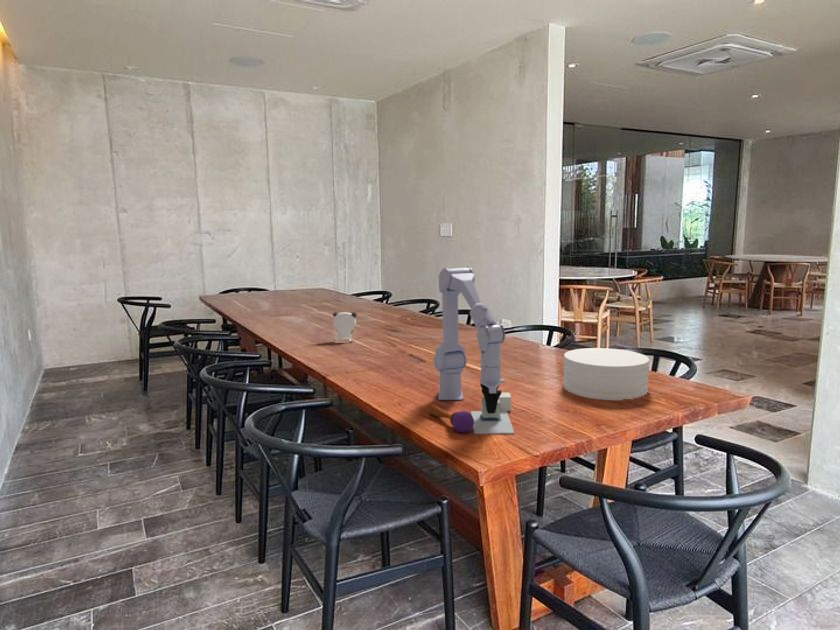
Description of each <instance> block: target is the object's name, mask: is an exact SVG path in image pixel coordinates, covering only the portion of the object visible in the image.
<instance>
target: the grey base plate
mask: <svg viewBox="0 0 840 630" xmlns="http://www.w3.org/2000/svg"><path fill="white" fill-rule="evenodd" d="M470 414H471V415H472V417H473V419H474V425H473V428H472V429H473V434H474V435H514V434H515V430H514V427H513V425H512V422H511V419H510V417H509V413H508V411H500V418H483V416H482V410H478V411H477V410H472V411H470Z"/></svg>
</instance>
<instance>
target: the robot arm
mask: <svg viewBox="0 0 840 630" xmlns="http://www.w3.org/2000/svg"><path fill="white" fill-rule="evenodd" d="M475 276H476V275H475V274H474V271H473V269H472V267H470V266H465V267H443V268H442V269H441V271H440V272H439V274H438V289H439V290H438V291H439V293H441V300H442V301H441V302H442V303H441V304H442V342H441V343H440V344H439V345H438V346H437V347H436V348H435V352H434V354H435V355H434V356H433V357H434V358H433V363H434V367H435V369H436V370H437V371H438V372H439V390H438V401H463V400H464V395H463V390H462V372H464V369H465V367H467V363H468V359H467V358H468V357H467V354H466V347H464V345H462V344H461V343H460V342H459V295H460V293H461V294H462V296H463V298H464V300H465V301H466V303H467V305H468V306H469V307H470V311H469V315H470V317H471V319H472V322H473V324H474V325H475V326H474V327H475V328H476V329H477V333H476V338H477V341H478V347H479V351H480V379H479V382H480V384H479V385H480V387H481V393H482V395H483V398H485V401H486V407H487V412H488V413H495V411H496V407H497V402H498V399H499V397H500V395H501V393H503V392H502V390H498V389H499V387H500V385H501V384H504V383H505V382H506V381H505V378H501V375H502V374H501V373H502V370H501V365H502V364H501V363H502V362H501V361H502V353H501V351H502V346H501V345H502V344H503V343H504V341H505V339H506V330H505V328H504V325H503V324H501V323H499V321H498V320H495V319H494V316H493V315H492V312H491V310H490V309H489V307H488V305H487V304H485V303H482V301H481V299H480V296H479V294H478V291H477V288H476V286H475V281H476V280H475V279H476V277H475Z"/></svg>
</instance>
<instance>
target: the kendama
mask: <svg viewBox="0 0 840 630" xmlns="http://www.w3.org/2000/svg"><path fill="white" fill-rule="evenodd" d="M427 413H428V414H429V415H430V416H433V417H440V418H445V419H448V420H449V421H450V424H451V425H452V426H453V428H454V430H456V431H457V432H459V433H462V434H464V433H469V432H470V431H471V430H472V429H473V425H474V419H473V417H472V415H471V412H469V411H465V410H461V411H456V412H453V413H451V414H450V413H448V412H447V411H445V410H444V409H442V408H440V407H439V406H437V405H436V404H429V406H428V407H427Z"/></svg>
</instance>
